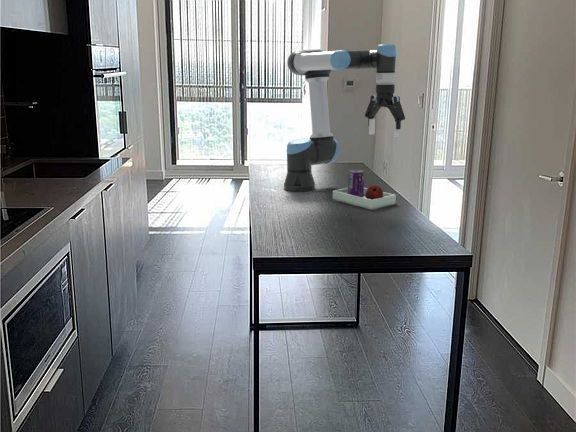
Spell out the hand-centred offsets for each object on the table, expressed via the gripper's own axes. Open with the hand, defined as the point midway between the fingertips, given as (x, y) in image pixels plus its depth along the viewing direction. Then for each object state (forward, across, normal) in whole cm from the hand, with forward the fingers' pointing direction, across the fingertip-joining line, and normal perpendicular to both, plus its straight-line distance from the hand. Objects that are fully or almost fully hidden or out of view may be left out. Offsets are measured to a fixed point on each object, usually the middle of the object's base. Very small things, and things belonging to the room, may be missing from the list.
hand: (383, 135), depth 235 cm
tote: (+29, -6, -5) cm, 30 cm away
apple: (+28, 0, -5) cm, 29 cm away
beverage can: (+28, -11, -4) cm, 31 cm away
